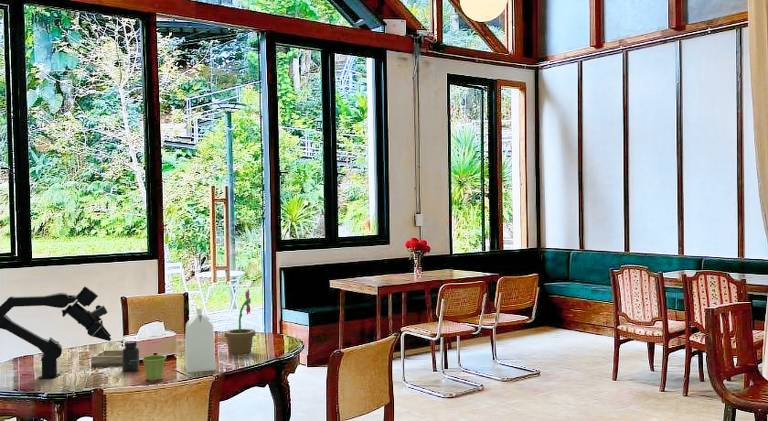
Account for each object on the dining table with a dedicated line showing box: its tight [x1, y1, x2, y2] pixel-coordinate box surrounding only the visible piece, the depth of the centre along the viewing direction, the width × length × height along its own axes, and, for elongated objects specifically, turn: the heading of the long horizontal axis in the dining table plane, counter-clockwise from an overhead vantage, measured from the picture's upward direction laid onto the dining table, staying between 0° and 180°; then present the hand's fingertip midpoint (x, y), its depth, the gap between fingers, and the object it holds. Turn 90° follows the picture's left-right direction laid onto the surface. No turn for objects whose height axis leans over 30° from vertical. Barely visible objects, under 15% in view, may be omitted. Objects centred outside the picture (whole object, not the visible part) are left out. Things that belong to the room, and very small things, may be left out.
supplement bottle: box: [121, 340, 140, 372], centre depth 309 cm, size 7×7×12 cm
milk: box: [184, 306, 216, 373], centre depth 310 cm, size 12×12×26 cm
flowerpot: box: [224, 289, 256, 356], centre depth 340 cm, size 14×14×30 cm
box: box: [90, 349, 123, 367], centre depth 324 cm, size 14×14×4 cm
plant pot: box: [141, 354, 167, 382], centre depth 292 cm, size 9×9×9 cm
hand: (110, 338), depth 307 cm, fingers open, 9 cm apart
